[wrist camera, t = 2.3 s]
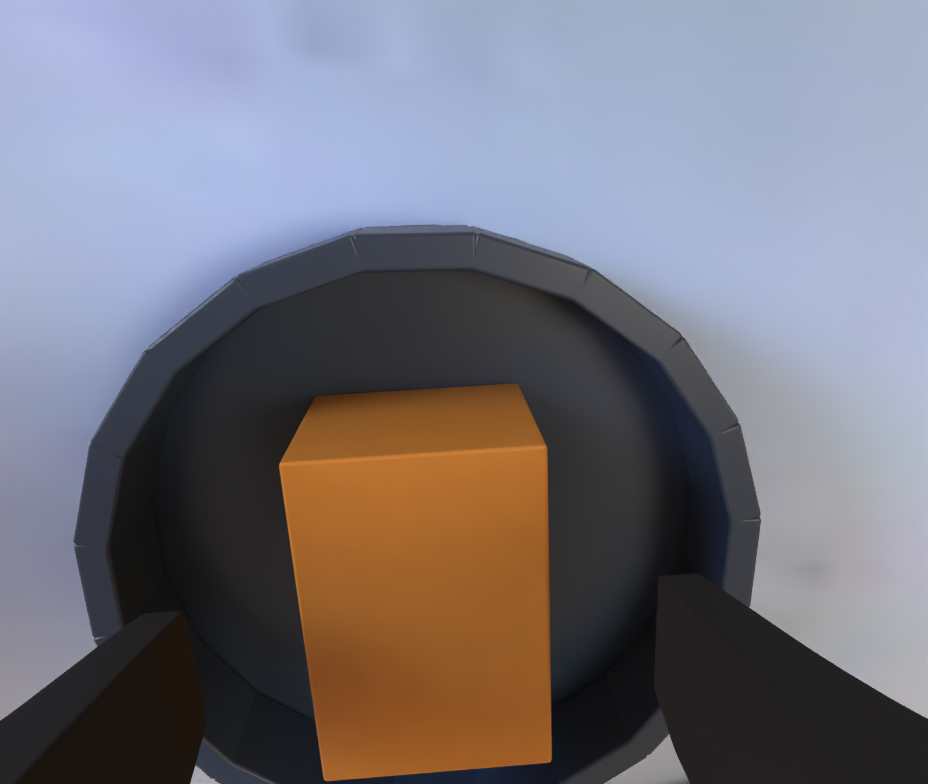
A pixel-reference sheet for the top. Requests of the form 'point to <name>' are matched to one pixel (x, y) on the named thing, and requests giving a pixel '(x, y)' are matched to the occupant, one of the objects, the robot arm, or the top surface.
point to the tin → (409, 368)
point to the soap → (423, 579)
